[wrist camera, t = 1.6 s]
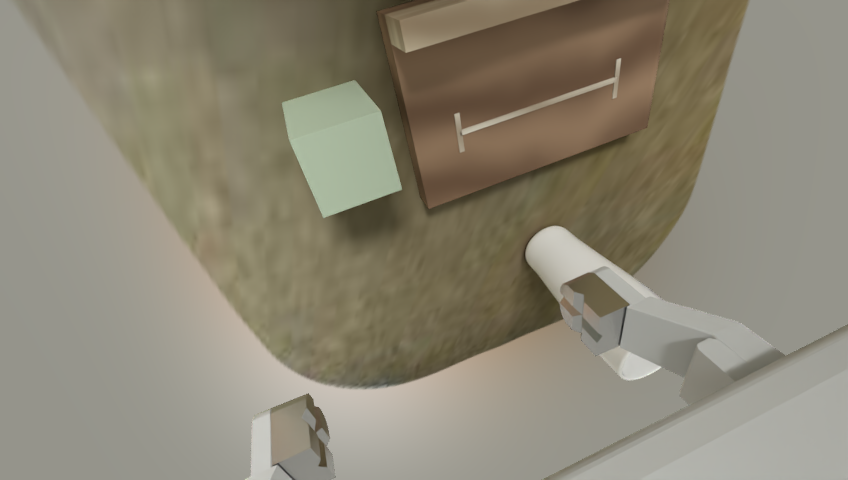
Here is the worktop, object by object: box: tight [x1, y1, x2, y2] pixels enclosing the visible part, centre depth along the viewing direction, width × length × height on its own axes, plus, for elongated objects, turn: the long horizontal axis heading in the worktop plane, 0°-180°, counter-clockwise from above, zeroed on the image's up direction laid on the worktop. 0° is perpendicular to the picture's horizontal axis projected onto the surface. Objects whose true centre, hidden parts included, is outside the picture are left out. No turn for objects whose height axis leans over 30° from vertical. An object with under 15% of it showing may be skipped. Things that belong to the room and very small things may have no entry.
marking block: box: [282, 80, 402, 218], centre depth 25 cm, size 6×5×7 cm
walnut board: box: [376, 0, 670, 209], centre depth 28 cm, size 14×21×5 cm, turn 102°
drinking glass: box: [525, 226, 663, 380], centre depth 36 cm, size 7×7×15 cm
